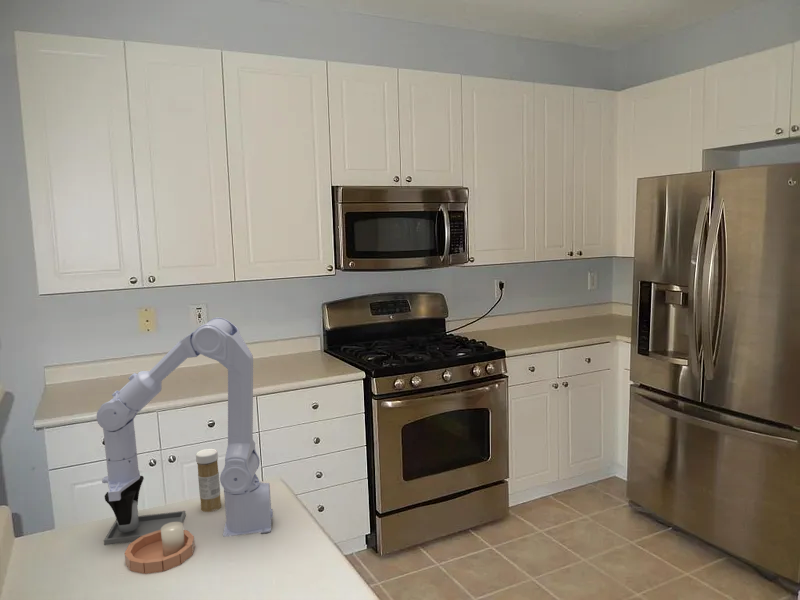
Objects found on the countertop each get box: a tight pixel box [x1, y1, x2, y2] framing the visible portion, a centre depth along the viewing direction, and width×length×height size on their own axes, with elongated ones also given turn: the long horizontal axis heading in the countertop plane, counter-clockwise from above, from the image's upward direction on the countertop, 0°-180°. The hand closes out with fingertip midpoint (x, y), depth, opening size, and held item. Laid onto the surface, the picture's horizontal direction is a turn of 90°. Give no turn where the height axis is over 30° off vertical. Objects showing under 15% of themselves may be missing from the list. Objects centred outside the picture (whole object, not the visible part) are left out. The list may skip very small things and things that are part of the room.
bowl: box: [124, 529, 196, 575], centre depth 113 cm, size 12×12×2 cm
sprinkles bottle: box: [195, 448, 223, 513], centre depth 131 cm, size 5×5×13 cm
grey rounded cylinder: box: [117, 500, 139, 532], centre depth 122 cm, size 4×4×5 cm
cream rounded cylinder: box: [161, 522, 185, 557], centre depth 113 cm, size 4×4×5 cm
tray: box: [103, 510, 187, 546], centre depth 123 cm, size 14×9×2 cm, turn 101°
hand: (127, 518), depth 122 cm, fingers closed on grey rounded cylinder, 4 cm apart
